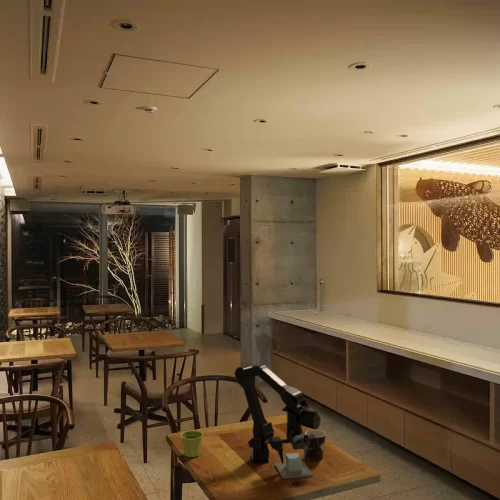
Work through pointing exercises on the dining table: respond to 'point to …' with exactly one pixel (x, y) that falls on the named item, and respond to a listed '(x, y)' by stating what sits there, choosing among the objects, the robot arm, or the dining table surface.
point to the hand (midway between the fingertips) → (293, 463)
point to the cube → (293, 462)
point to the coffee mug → (318, 450)
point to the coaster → (286, 474)
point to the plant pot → (191, 443)
